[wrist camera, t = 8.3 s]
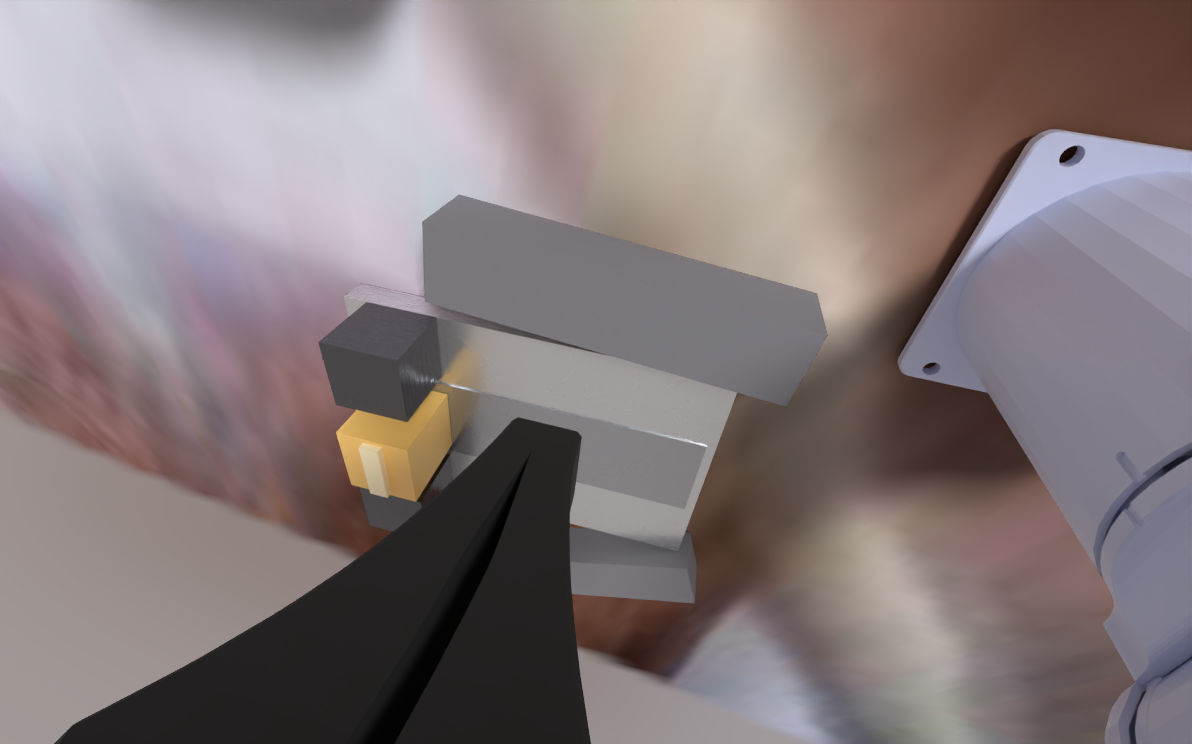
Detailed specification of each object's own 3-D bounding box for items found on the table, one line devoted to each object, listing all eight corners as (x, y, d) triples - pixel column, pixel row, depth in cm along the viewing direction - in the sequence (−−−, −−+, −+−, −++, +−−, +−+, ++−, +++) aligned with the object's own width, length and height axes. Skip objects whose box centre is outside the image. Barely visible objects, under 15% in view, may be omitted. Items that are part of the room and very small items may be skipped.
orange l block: (447, 394, 22) (403, 456, 19) (452, 444, 24) (412, 507, 21) (384, 379, 23) (331, 437, 20) (394, 429, 25) (347, 489, 22)
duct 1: (815, 289, 18) (827, 335, 15) (780, 356, 20) (785, 406, 17) (462, 191, 18) (422, 221, 16) (461, 265, 20) (424, 301, 18)
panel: (740, 366, 20) (740, 441, 16) (680, 531, 27) (671, 607, 23) (360, 283, 21) (293, 336, 18) (395, 458, 28) (350, 520, 25)
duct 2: (690, 526, 27) (686, 568, 25) (697, 561, 28) (694, 603, 26) (474, 519, 31) (457, 555, 29) (491, 550, 32) (476, 586, 30)
